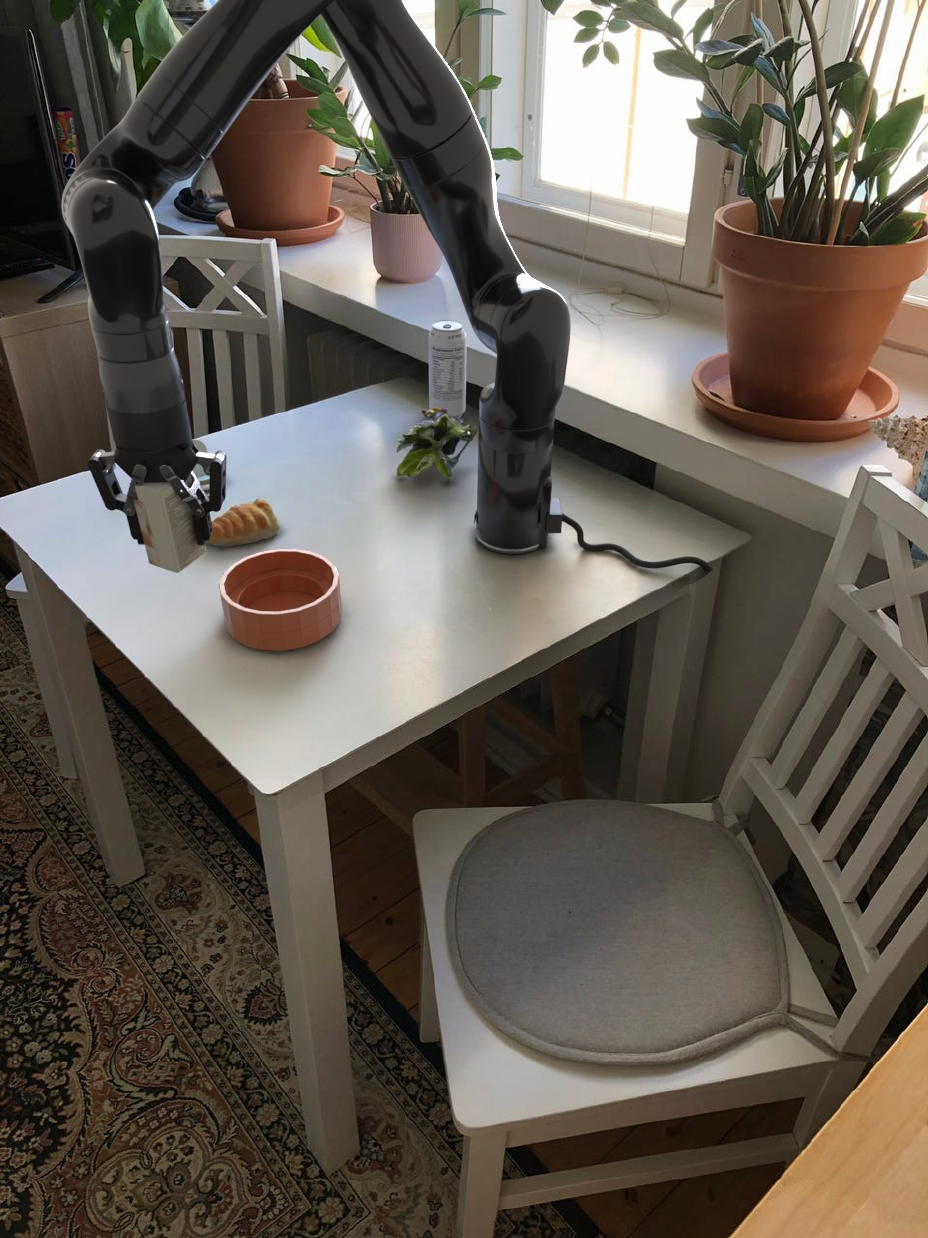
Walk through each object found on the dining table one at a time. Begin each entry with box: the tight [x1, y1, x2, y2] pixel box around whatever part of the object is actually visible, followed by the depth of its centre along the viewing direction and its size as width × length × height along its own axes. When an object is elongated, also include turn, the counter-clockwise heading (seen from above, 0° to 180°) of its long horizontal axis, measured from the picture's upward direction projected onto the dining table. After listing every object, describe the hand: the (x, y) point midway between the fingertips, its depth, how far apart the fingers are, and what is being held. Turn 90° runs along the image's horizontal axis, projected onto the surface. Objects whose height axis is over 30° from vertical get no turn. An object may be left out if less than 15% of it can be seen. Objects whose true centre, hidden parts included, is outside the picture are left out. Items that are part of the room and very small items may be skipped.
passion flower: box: [395, 407, 478, 485], centre depth 135 cm, size 11×11×12 cm
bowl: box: [218, 548, 343, 651], centre depth 106 cm, size 13×13×6 cm
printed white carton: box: [129, 474, 207, 574], centre depth 99 cm, size 5×4×10 cm
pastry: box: [207, 498, 281, 548], centre depth 121 cm, size 9×7×4 cm
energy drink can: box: [428, 319, 468, 419], centre depth 150 cm, size 6×6×15 cm
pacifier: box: [192, 438, 210, 491], centre depth 132 cm, size 7×6×6 cm
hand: (174, 540), depth 101 cm, fingers closed on printed white carton, 5 cm apart
